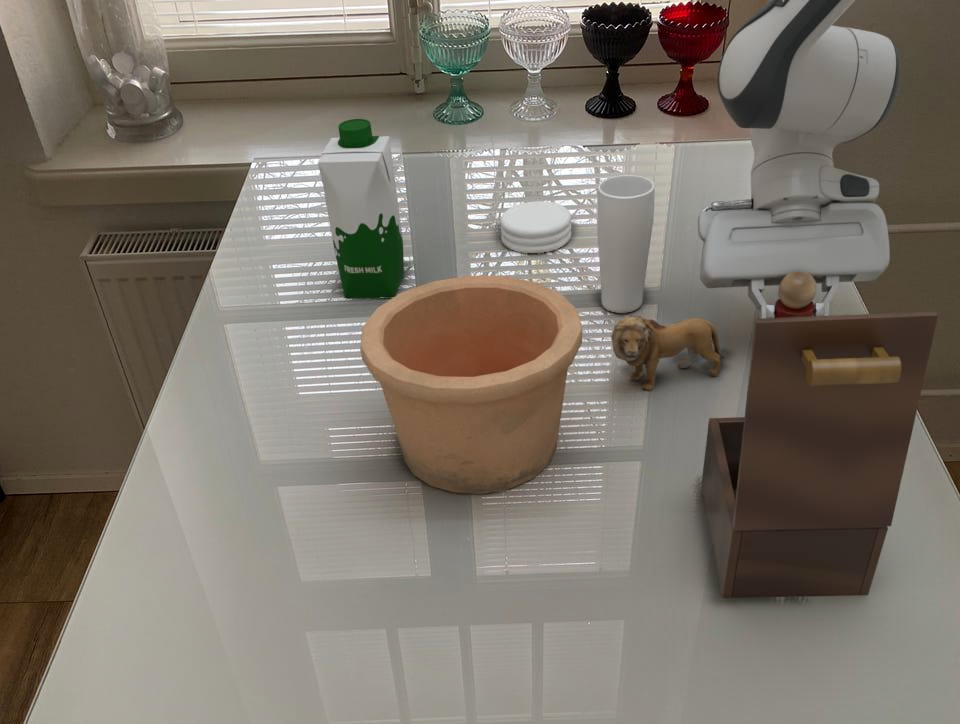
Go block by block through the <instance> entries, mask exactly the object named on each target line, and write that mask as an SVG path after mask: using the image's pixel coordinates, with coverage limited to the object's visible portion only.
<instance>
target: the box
mask: <svg viewBox="0 0 960 724" xmlns="http://www.w3.org/2000/svg"><path fill="white" fill-rule="evenodd" d="M744 418H745V416H733V417H709V419H708V425H707V434H706V441H705V442H706V443H705V450H704V459H703V467H702V469H703V470H702V476H701V484H700V485H701V486H700V496H701V501H702V507H703V514H704V515H706V516H707V520H708V526H709V532H710V537H711V542H712V547H713V553H714V560H715V564H716V571H717V576H718V581H719V587H720V592H721V597H722V599H743V598H744V599H746V598H747V599H748V598H749V599H750V598H752V599H753V598H795V597H797V598H799V597H803V598H804V597H805V598H806V597H850V596H852V597H853V596H855V597H856V596H869V595H870V592H871V591H870V590H871V588H872V584H873V580H874V577H875V574H876V570H877V567H878V564H879V560H880V558H881V553H882V550H883V547H884V543H885V540H886V538H887V537H886V536H887V533H888V530H889V526H882V527H842V528H802V529H762V530H734V528H733V518H734V509H735V500H736V491H737V482H738V472H739V463H740V454H741V445H742V436H743V427H744Z"/></svg>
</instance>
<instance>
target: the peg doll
mask: <svg viewBox="0 0 960 724" xmlns="http://www.w3.org/2000/svg"><path fill="white" fill-rule="evenodd" d="M816 294H817V283H816V282H815V280H814V278H813V277H812V275H810V274H809V273H807V272H805V271H794V272H791V273H789V274H788V275H786V276H785V277H784V278H783V280H782V281H781V283H780V285H778V297H779V298H778V299H777V300H776V301H775V304H774V305H775V311H774V314H775V318H787V317H812V316H813V311H814V305H815V303H814V301H813V300H814V298H815V297H816Z"/></svg>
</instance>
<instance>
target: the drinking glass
mask: <svg viewBox="0 0 960 724" xmlns="http://www.w3.org/2000/svg"><path fill="white" fill-rule="evenodd" d="M654 216H655V183H654V181H652V180H651V179H650V178H648V177H645V176H641V175H637V174H619V175H614V176H611V177H608V178H605V179H603V180H602V181H601V182H600V183H599V184H598V186H597V197H596V232H597V246H598V260H599V261H598V262H599V277H600V304H601V306H602V307H603V308H604V309H605V310H607V311H608V312H610V311H611V312H610V313H614V312H615V314H628V312H629V313H632V312H635V311H637V310H638V309H640V307H641V306H642V305H643V302H644V293H645V282H646V275H647V274H646V273H647V268H648V260H649V253H650V247H651V239H652V234H653V233H652V232H653V225H654Z"/></svg>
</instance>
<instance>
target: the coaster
mask: <svg viewBox="0 0 960 724" xmlns="http://www.w3.org/2000/svg"><path fill="white" fill-rule="evenodd" d="M500 226H501V227H500V233H501V235H500V236H501V237H500V238H501V239H500V240H501V242H502V243H503V245H504V246H505V247H506V248H508V249H509V250H511V251H513V250H514V251H513V252H516V251H517V252H516V253H520V252H522V253H521V254H527V253H538V254H545V253H544V252H546V253H550V252H554V251H556V250H558V248H559V249H561V248H562V247H564V246H565V245H567V244H568V242H569V241H570V240H571V237H572V214H571V212H570V210H569V209H568V208H567V207H565V206H564V205H562V204H560V203H556V202H553V201H545V200H544V201H543V200H536V201H535V200H534V201H527V202H522V203H518V204H515V205H513V206H511V207H509V208H508V209H506V210H505V211H504V212H503V214H501V216H500ZM560 247H561V248H560ZM553 250H554V251H553ZM549 251H550V252H549Z"/></svg>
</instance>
